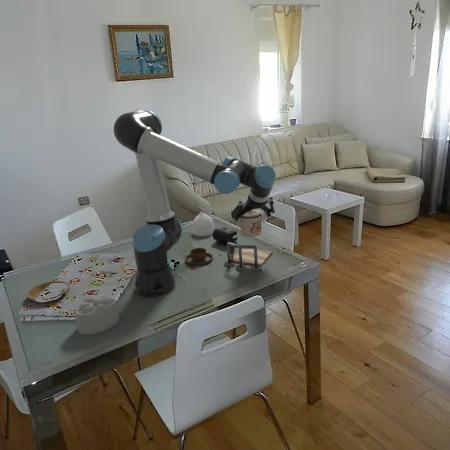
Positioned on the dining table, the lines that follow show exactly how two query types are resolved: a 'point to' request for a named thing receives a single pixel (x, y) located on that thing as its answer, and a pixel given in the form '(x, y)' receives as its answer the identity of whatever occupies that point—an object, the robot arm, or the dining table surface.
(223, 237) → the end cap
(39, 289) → the plant saucer
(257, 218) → the teacup with lid
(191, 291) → the dining table surface
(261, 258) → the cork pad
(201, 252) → the place setting
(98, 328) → the lumpy-topped squat cylinder
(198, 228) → the teardrop
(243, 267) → the bent rail
